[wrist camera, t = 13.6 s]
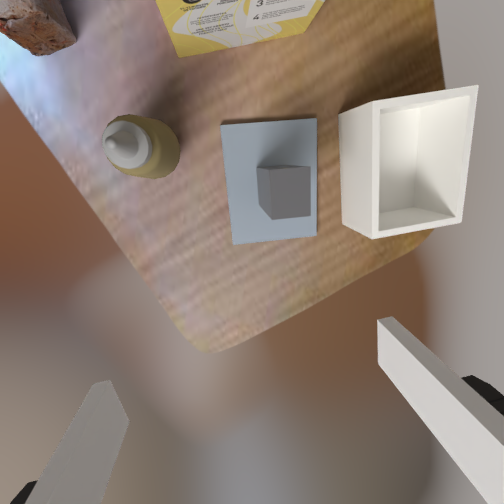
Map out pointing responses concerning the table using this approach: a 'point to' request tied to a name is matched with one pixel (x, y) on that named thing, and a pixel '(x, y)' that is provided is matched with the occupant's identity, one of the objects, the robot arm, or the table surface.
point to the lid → (271, 179)
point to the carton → (406, 161)
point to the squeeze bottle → (141, 146)
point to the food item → (36, 25)
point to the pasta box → (233, 22)
